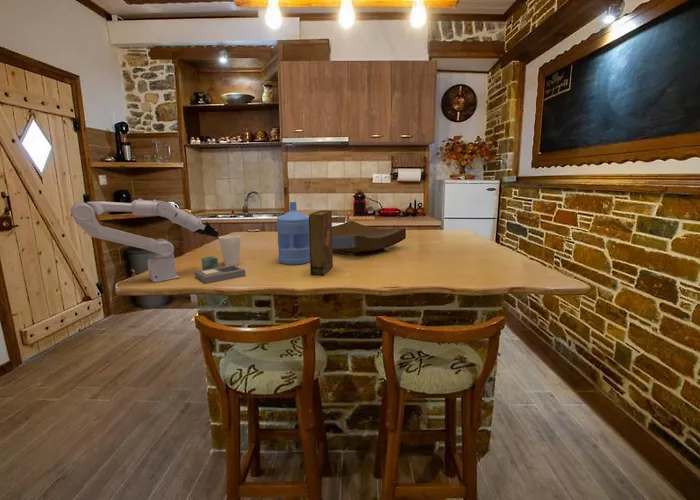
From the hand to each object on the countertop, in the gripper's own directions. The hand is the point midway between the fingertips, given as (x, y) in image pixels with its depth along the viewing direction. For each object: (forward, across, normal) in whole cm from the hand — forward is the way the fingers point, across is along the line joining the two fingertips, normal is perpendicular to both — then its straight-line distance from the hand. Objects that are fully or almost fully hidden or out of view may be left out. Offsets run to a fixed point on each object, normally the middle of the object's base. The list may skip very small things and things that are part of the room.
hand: (214, 234), depth 154 cm
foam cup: (+16, +6, +8) cm, 19 cm away
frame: (+6, -12, +15) cm, 20 cm away
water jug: (+37, -9, -5) cm, 38 cm away
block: (+6, 0, +15) cm, 16 cm away
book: (+37, -32, -4) cm, 49 cm away
